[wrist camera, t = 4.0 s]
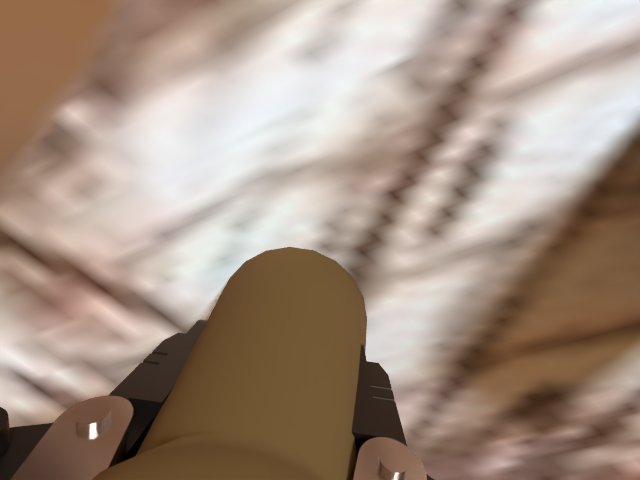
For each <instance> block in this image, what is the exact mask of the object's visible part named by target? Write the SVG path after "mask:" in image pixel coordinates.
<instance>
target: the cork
mask: <svg viewBox="0 0 640 480" xmlns="http://www.w3.org/2000/svg"><path fill="white" fill-rule="evenodd" d="M366 327H367V316H366V310H365V304H364V297H363V295H362V294H361V292H360V290H359V288H358V286H357V284H356V282H355V280H354V279H353V277H352V276H351V275H350V274H349V273H348V272H347V271H346V270H345V269H343V268H342V267H341V266H340V265H339V264H338V263H337V262H336V261H334V260H332V259H330V258H328V257H326V256H324V255H322V254H320V253H318V252H316V251H313V250H306V249H300V248H293V247H287V248H281V249H275V250H269V251H265V252H263V253H261V254H259V255H257V256H255V257H253V258H252V259H250V260H248V261H246V262H245V263H244V264H243V265H242V266H241V267H240V268H239V269H238V270H237V271H236V272H235V273H234V274H233V275H232V276H231V278H230V279H229V281H228V283H227V285H226V287H225V289H224V291H223V292H222V294H221V296H220V298H219V300H218V302H217V304H216V306H215V307H214V309H213V311H212V313H211V315H210V317H209V319H208V321H207V322H206V324H205V326H204V328H203V330H202V332H201V334H200V336H199V337H198V339H197V341H196V343H195V345H194V347H193V349H192V351H191V353H190V355H189V357H188V359H187V361H186V363H185V365H184V367H183V369H182V371H181V373H180V375H179V377H178V379H177V381H176V383H175V385H174V387H173V389H172V390H171V392H170V394H169V395H168V397H167V399H166V400H165V402H164V404H163V405H162V407H161V409H160V411H159V413H158V415H157V416H156V418H155V420H154V422H153V424H152V426H151V428H150V430H149V431H148V433H147V435H146V437H145V439H144V441H143V443H142V445H141V446H140V448H139V450H138V452H137V454H136V456H135V457H133V458H130V459H128V460H126V461H123V462H121V463H119V464H117V465H114V466H112V467H110V468H108V469H105V470H103V471H101V472H100V473H99V474H98V475H96V476H95V477H94V478H93V479H92V480H353V477H354V472H355V465H356V451H357V450H356V444H355V439H354V436H353V434H352V423H353V415H354V407H355V399H356V391H357V383H358V374H359V362H360V351H361V344H363V345H364V350H365V346H366Z"/></svg>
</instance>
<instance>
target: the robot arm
mask: <svg viewBox="0 0 640 480" xmlns="http://www.w3.org/2000/svg"><path fill="white" fill-rule="evenodd" d="M206 322H207V321H205V320H198V321H197V322H196V323H195V325H194V326H193V327H192V328H191V329H190V330H189V331H188V332H187V333H186V334H183V333H177V334H175V335H173V336H172V337H170V338H168V339H166V340H164V341H163V342H162V343H161V344H160V345H159V346H158V347H157V348H155V349H154V350H153V352H152V354H151V353H150V354H149V355H148V356H147V357H146V358H145V359H144V361H143V363H140V364H139V365H138V366H137V367H136V368H135V369H134V370H133V371H132V372H131V373H130V374H129V375H128V376H127V377H126V378H125V379H124V380H123V381H122V382H121V383H120V384H119V385H118V386H117V387H116V388H115V389H114V390H113V391H112V392H111V393H110V394H109V395H108V396H101V397H95V398H92V399H88V400H86V401H83V402H81V403H79V404H76V405H75V406H73V407H71V408H69V409H68V410H67V411H65V412H64V413H63V414H62V415H60V416H59V417H58V418H57V420H56V421H55V422H54V423H49V424H40V425H30V426H21V427H12V428H9V418H8V413H7V411H6V410H5V409H3V408H1V407H0V480H92V479H93V478H94V477H95V476H96V475H98V474H99V473H100V472H101V471H103V470H105V469H108V468H110V467H112V466H114V465H117V464H119V463H121V462H123V461H126V460H128V459H130V458H133V457H135V456H136V454H137V452H138V450H139V448H140V446H141V445H142V443H143V441H144V439H145V437H146V435H147V433H148V431H149V430H150V428H151V426H152V424H153V422H154V420H155V418H156V416H157V415H158V413H159V411H160V409H161V407H162V405H163V404H164V402H165V400H166V399H167V397H168V395H169V394H170V392H171V390H172V389H173V387H174V385H175V383H176V381H177V379H178V377H179V375H180V373H181V371H182V369H183V367H184V365H185V363H186V361H187V359H188V357H189V355H190V353H191V351H192V349H193V347H194V345H195V343H196V341H197V339H198V337H199V336H200V334H201V332H202V330H203V328H204V326H205V324H206ZM352 434H353V436H354V439H355V444H356V450H357V451H356V465H355V472H354V477H353V480H434V479H432V478H431V477H430V476H428V475H427V474H426V471H425V468H424V466H423V464H422V462H421V461H420V459H419V458H418V456H417V455H416V454H415V453H414V452H413V451H412V450H411V449H410V448H408V447H407V444H406V441H405V437H404V433H403V429H402V426H401V422H400V418H399V414H398V411H397V407H396V403H395V402H394V396H393V392H392V390H391V384H390V381H389V377H388V374H387V373H386V372H385V371H384V369H383V368H382V367H381V366H380V364H379V363H374V362H367V361H366V356H365V350H364V345H363V344H361V351H360V362H359V374H358V383H357V391H356V399H355V407H354V415H353V423H352Z"/></svg>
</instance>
